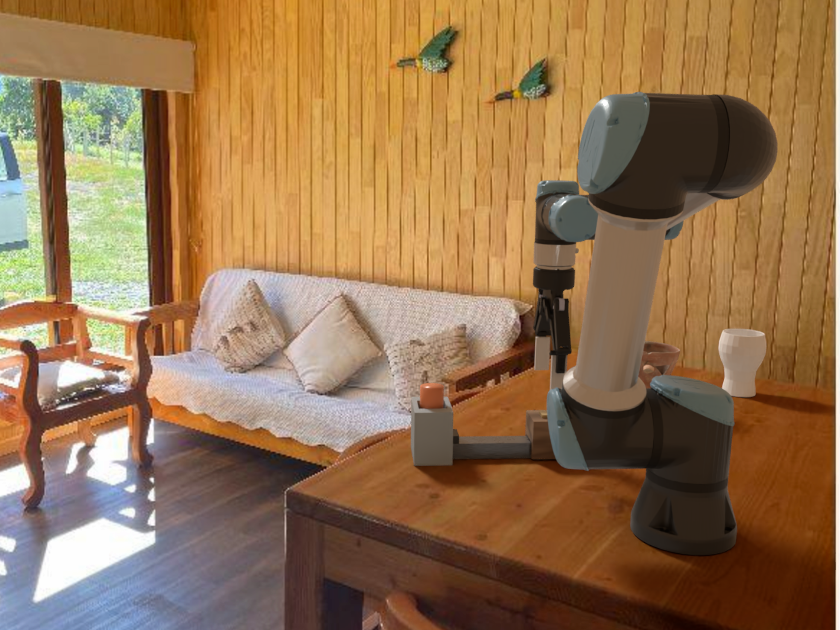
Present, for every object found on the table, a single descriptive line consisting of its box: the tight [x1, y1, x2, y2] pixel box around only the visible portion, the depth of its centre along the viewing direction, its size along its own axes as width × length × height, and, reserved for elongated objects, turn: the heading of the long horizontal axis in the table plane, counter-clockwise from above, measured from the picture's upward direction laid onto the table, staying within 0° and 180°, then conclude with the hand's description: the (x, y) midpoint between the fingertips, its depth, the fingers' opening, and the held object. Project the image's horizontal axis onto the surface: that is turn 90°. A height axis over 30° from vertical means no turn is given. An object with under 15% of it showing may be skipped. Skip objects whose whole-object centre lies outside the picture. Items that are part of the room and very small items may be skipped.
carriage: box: [524, 409, 556, 460], centre depth 154 cm, size 7×7×8 cm
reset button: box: [419, 382, 445, 409], centre depth 152 cm, size 4×4×6 cm
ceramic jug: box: [638, 340, 681, 388], centre depth 185 cm, size 18×14×14 cm
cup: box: [718, 328, 767, 398], centre depth 197 cm, size 11×11×15 cm
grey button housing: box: [410, 396, 454, 467], centre depth 153 cm, size 10×7×10 cm
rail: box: [453, 428, 532, 460], centre depth 154 cm, size 4×24×4 cm, turn 94°
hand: (549, 379), depth 153 cm, fingers open, 13 cm apart
